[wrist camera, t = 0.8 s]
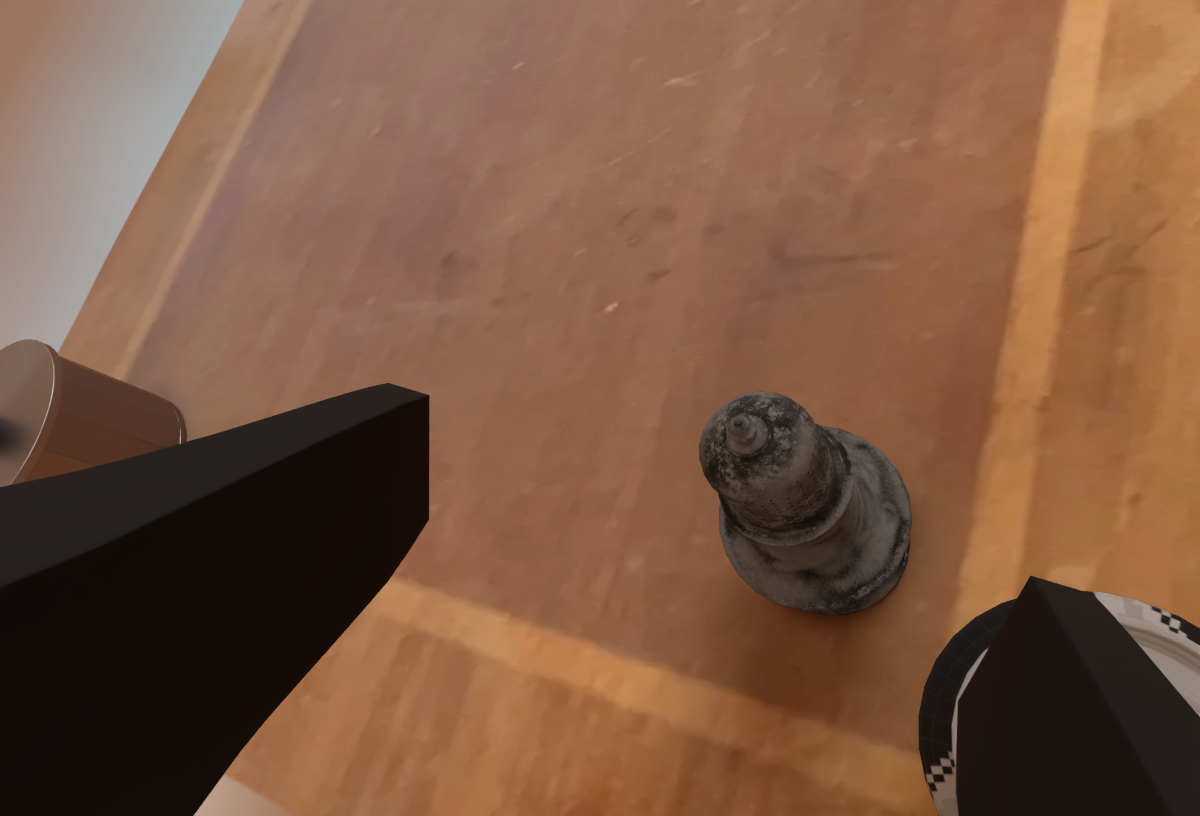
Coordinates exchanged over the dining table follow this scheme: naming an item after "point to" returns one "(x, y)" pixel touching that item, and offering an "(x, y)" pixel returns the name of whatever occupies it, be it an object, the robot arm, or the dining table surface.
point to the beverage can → (1171, 642)
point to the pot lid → (27, 406)
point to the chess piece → (805, 506)
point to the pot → (105, 423)
